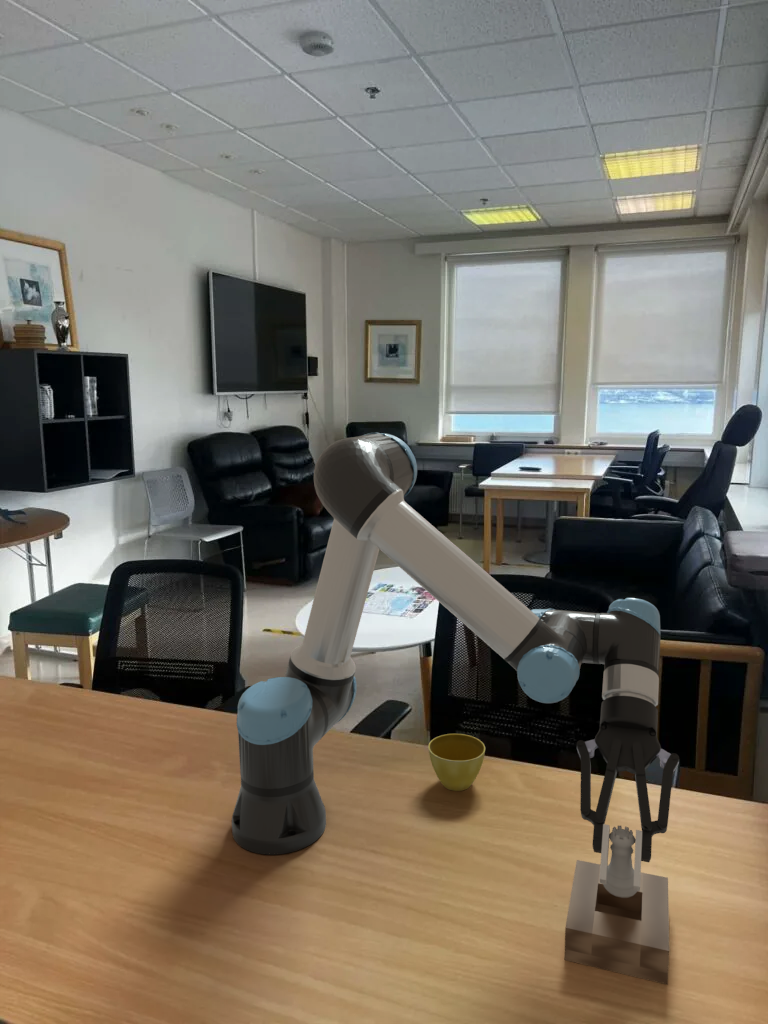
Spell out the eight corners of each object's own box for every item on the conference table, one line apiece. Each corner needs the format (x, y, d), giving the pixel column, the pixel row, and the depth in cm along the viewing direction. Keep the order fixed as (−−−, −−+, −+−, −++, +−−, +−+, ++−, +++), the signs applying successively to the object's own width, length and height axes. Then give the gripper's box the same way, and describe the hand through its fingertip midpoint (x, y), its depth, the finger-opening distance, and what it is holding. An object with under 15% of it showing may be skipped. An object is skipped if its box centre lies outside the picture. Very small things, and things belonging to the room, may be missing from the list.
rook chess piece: (640, 901, 94) (643, 843, 92) (603, 897, 94) (605, 839, 93) (636, 878, 98) (638, 822, 96) (600, 874, 99) (602, 819, 97)
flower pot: (483, 801, 128) (483, 762, 127) (425, 796, 130) (425, 758, 129) (486, 771, 138) (486, 735, 137) (431, 767, 140) (431, 731, 138)
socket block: (564, 959, 93) (565, 927, 92) (575, 888, 106) (576, 859, 105) (667, 984, 89) (669, 951, 88) (666, 907, 102) (667, 877, 101)
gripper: (690, 721, 105) (689, 904, 92) (571, 706, 110) (554, 877, 98) (694, 701, 99) (693, 893, 86) (568, 686, 104) (549, 865, 92)
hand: (619, 884), depth 92 cm, fingers closed on rook chess piece, 3 cm apart
